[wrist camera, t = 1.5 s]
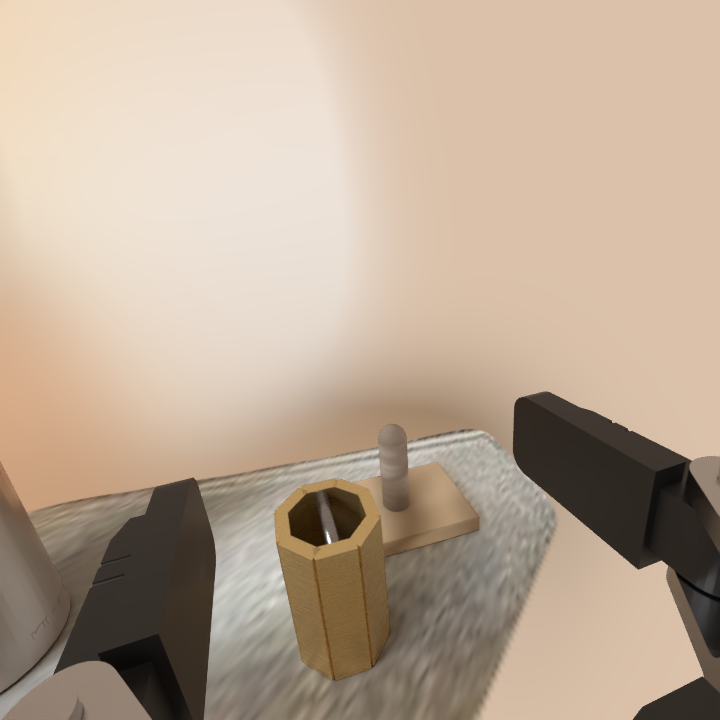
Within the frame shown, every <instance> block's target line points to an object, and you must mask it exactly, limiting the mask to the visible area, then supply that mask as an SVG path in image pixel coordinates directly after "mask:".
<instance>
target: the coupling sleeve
mask: <svg viewBox="0 0 720 720" xmlns="http://www.w3.org/2000/svg"><path fill="white" fill-rule="evenodd" d="M274 519H275V532H276V544H277V548H278V553H279V557H280V562H281V567H282V571H283V576H284V580H285V585H286V590H287V594H288V599H289V604H290V608H291V613H292V617H293V622H294V627H295V631H296V636H297V641H298V645H299V650H300V654H301V659H302V660H303V662H304V663H306V664H307V665H309V666H310V667H312V668H313V669H315V670H317V671H318V672H320V673H321V674H323V675H324V676H326V677H327V678H329V679H331V680H332V681H333V679H334V677H335V681H337V680H340V679H343V678H346V677H349V676H351V675H354V674H357V673H360V672H363V671H366V670H369V669H371V665H372V666H374V665H375V663H376V661H377V658H378V656H379V654H380V652H381V650H382V648H383V646H384V644H385V642H386V640H387V638H388V636H389V634H390V624H389V611H388V599H387V587H386V574H385V562H384V550H383V537H382V525H381V514H380V512H379V510H378V508H377V505H376V503H375V501H374V498H373V496H372V494H371V491H370V489H369V490H368V488H366V487H363V486H360V485H357V484H354V483H351V482H348V481H345V480H342V479H337V480H336V479H335V478H334V479H330V480H326V481H322V482H318V483H313V484H309V485H305V486H301V488H298V489H297V490H296V491H295V492H294V493H293V494H292V495H291V496H290V497H289V498H288V499H287V500H286V501H285V502H284V503H283V504H282V505H281V506H280V507H279V508H278V509H277V510H276V511H275V513H274Z"/></svg>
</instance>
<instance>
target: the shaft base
mask: <svg viewBox="0 0 720 720" xmlns="http://www.w3.org/2000/svg"><path fill="white" fill-rule="evenodd" d="M378 444H379V457H380V469H381V476H378V477H374V478H370V479H366V480H361V481H357V482H353V483H354V484H357V485H360V486H363V487H366V488H368V490H369V489H370V491H371V494H372V496H373V498H374V501H375V503H376V505H377V508H378V510H379V512H380V514H381V525H382V537H383V550H384V557H387V556H390V555H394V554H397V553H401V552H404V551H408V550H411V549H414V548H418V547H421V546H425V545H428V544H432V543H435V542H439V541H442V540H446V539H449V538H452V537H456V536H459V535H463V534H466V533H470V532H473V531H477V530H479V516H478V514H477V513H476V512H475V510H474V509H473V508H472V506H471V505H470V504H469V502H468V501H467V500H466V498H465V497H464V496H463V494H462V493H461V492H460V490H459V489H458V488H457V487H456V485H455V484H454V483H453V481H452V480H451V479H450V477H449V476H448V475H447V473H446V472H445V471H444V469H443V468H442V467H441V465H440V464H439V463H438V462H435V463H431V464H427V465H423V466H419V467H415V468H411V469H408V457H407V437H406V433H405V431H404V430H403V428H401V427H400V426H398V425H396V424H388V425H386V426H384V427H383V428H382V429H381V431H380V432H379V435H378Z"/></svg>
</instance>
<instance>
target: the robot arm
mask: <svg viewBox="0 0 720 720" xmlns="http://www.w3.org/2000/svg"><path fill="white" fill-rule="evenodd" d="M513 453H514V458H515V461H516V463H517V465H518V467H519V468H520V470H521V471H522V472H523V473H524V474H525V475H526V476H528V477H529V478H530V479H531V480H532V481H534V482H535V483H536V484H537V485H538V486H540V487H541V488H542V489H543V490H544V491H545V492H547V493H548V494H549V495H550V496H551V497H553V498H554V499H555V500H556V501H557V502H559V503H560V504H561V505H562V506H563V507H565V508H566V509H567V510H568V511H569V512H571V513H572V514H573V515H574V516H575V517H576V518H578V519H579V520H580V521H581V522H582V523H583V524H585V525H586V526H587V527H588V528H590V529H591V530H592V531H593V532H594V533H595V534H597V535H598V536H599V537H600V538H601V539H602V540H604V541H605V542H606V543H607V544H608V545H610V546H611V547H612V548H613V549H614V550H616V551H617V552H618V553H619V554H620V555H621V556H623V557H624V558H625V559H626V560H627V561H629V562H630V563H631V564H632V565H633V566H635V567H636V568H637V569H641V568H643V567H646V566H648V565H651V564H654V563H656V562H659V561H661V560H662V561H663V562H665V563H666V564H667V565H668V569H667V574H666V576H667V582H668V585H669V587H670V590H671V592H672V595H673V597H674V600H675V603H676V605H677V608H678V610H679V613H680V615H681V618H682V620H683V623H684V625H685V628H686V630H687V633H688V635H689V638H690V640H691V643H692V645H693V648H694V650H695V653H696V656H697V658H698V661H699V663H700V666H701V668H702V671H703V674H704V677H701V678H699V679H696V680H695V681H693V682H691V683H689V684H687V685H685V686H683V687H681V688H679V689H677V690H675V691H673V692H671V693H669V694H667V695H665V696H663V697H661V698H659V699H657V700H655V701H653V702H651V703H649V704H647V705H645V706H643V707H642V708H641V709H640V711H639V712H638V713H637V715H636V716H635V717H634V719H633V720H720V457H716V456H709V457H701V458H698V459H695V460H693V461H691V460H689V459H687V458H685V457H683V456H681V455H679V454H677V453H675V452H673V451H671V450H669V449H667V448H665V447H663V446H661V445H659V444H657V443H655V442H653V441H651V440H649V439H647V438H645V437H643V436H641V435H639V434H637V433H635V432H633V431H630V432H629V431H628V429H627V428H625V427H623V426H621V425H619V424H617V423H612V421H611V420H609V419H607V418H605V417H603V416H601V415H599V414H597V413H595V412H593V411H590V410H587V409H583V408H580V407H578V406H576V405H574V404H572V403H570V402H568V401H566V400H564V399H562V398H560V397H558V396H556V395H554V394H552V393H550V392H541V393H537V394H533V395H529V396H525V397H521V398H519V399H518V400H517V401H516V403H515V406H514V431H513ZM215 568H216V553H215V544H214V538H213V534H212V531H211V527H210V524H209V520H208V517H207V514H206V510H205V507H204V504H203V500H202V497H201V493H200V490H199V487H198V484H197V482H196V480H195V479H194V478H190V479H186V480H182V481H178V482H174V483H170V484H166V485H161V486H157V487H156V488H155V489H154V491H153V494H152V497H151V500H150V503H149V505H148V508H147V511H146V514H145V515H142V516H138V517H134V518H130V519H129V521H128V522H127V523H126V524H125V525H124V526H123V527H122V528H121V529H120V531H119V532H118V533H117V534H116V535H115V536H114V537H113V538H112V540H111V541H110V543H109V546H108V548H107V550H106V553H105V555H104V557H103V560H102V562H101V567H100V568H99V569H98V571H97V574H96V576H95V578H94V581H93V588H90V590H89V592H88V595H87V597H86V599H85V602H84V604H83V606H82V609H81V611H80V613H79V616H78V618H77V620H76V623H75V625H74V627H73V630H72V632H71V634H70V637H69V639H68V641H67V644H66V646H65V648H64V651H63V653H62V655H61V658H60V660H59V662H58V665H57V667H56V669H55V672H54V674H53V676H51V677H49V678H48V679H46V680H45V681H43V682H42V683H40V684H39V685H38V686H36V687H35V688H34V689H32V690H31V691H30V692H29V693H28V694H27V695H25V696H24V697H23V698H22V699H21V700H20V701H19V702H18V703H17V704H16V705H15V706H14V707H13V708H12V709H11V710H10V711H9V712H8V714H7V715H6V716H5V717H4V718H3V719H2V720H204V708H205V695H206V683H207V670H208V657H209V644H210V632H211V619H212V606H213V593H214V581H215ZM70 604H71V601H70V598H69V595H68V592H67V590H66V588H65V586H64V584H63V582H62V580H61V579H60V577H59V575H58V573H57V571H56V569H55V567H54V565H53V563H52V561H51V559H50V557H49V555H48V553H47V551H46V549H45V547H44V545H43V543H42V541H41V539H40V537H39V535H38V533H37V531H36V530H35V528H34V526H33V524H32V522H31V520H30V518H29V516H28V514H27V512H26V510H25V508H24V506H23V505H22V502H21V501H20V499H19V497H18V495H17V493H16V491H15V489H14V487H13V485H12V483H11V481H10V479H9V477H8V475H7V473H6V471H5V470H4V468H3V466H2V464H1V462H0V693H1V692H2V691H3V690H5V689H6V688H8V687H9V686H10V685H12V684H13V683H14V682H16V681H17V680H18V679H19V678H20V677H22V676H23V675H24V674H25V673H26V672H27V671H28V670H30V669H31V668H32V667H33V666H34V665H35V664H36V663H37V662H38V661H39V660H40V658H41V657H42V656H43V655H44V654H45V653H46V652H47V651H48V650H49V648H50V647H51V646H52V644H53V643H54V642H55V640H56V639H57V638H58V636H59V635H60V633H61V631H62V629H63V627H64V626H65V624H66V621H67V618H68V616H69V613H70Z"/></svg>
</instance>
